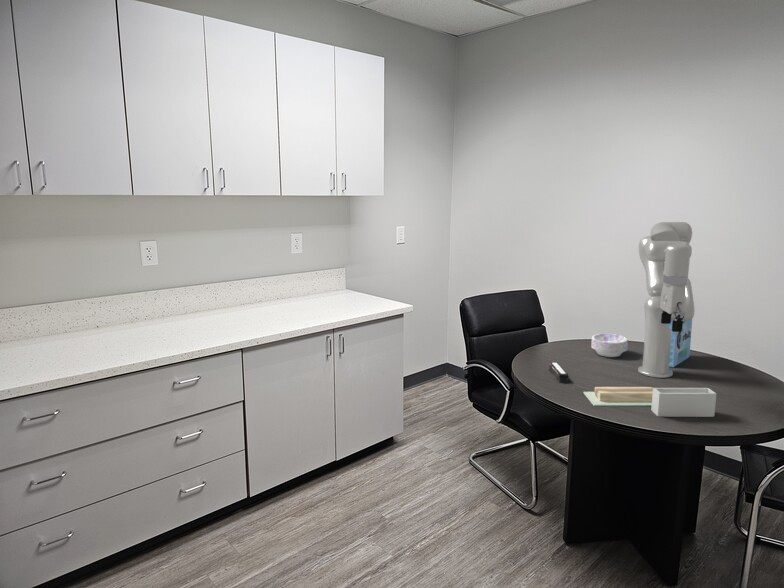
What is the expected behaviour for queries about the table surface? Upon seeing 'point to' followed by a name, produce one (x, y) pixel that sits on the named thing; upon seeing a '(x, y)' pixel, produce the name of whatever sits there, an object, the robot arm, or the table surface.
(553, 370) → the bus
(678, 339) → the gum box
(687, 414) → the box
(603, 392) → the beige wooden block
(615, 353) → the paper bowls
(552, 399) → the table surface
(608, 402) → the mat
